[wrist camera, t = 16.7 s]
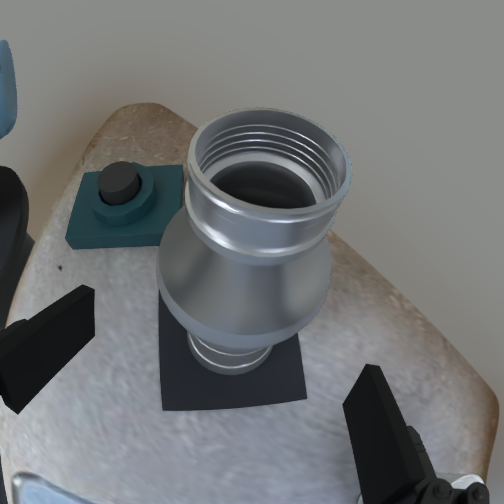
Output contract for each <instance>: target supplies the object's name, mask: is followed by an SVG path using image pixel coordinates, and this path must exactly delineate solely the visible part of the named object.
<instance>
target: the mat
mask: <svg viewBox="0 0 504 504" xmlns="http://www.w3.org/2000/svg"><path fill="white" fill-rule="evenodd" d="M159 357H160V379H161V395H162V408H163V411H189V410H215V409H231V408H242V407H252V406H261V405H270V404H277V403H284V402H290V401H297V400H303V399H307V395H306V388H305V381H304V373H303V367H302V360H301V353H300V346H299V340H298V333H296V334H294V335H293V336H292V337H290V338H288V339H286V340H284V341H282V342H280V343H277V344H275V345H273V347H272V350H271V352H270V354H269V355H268V357H267V358H266V359H265V360H264V361H263V362H262V363H261V364H260V365H259V366H258V367H256V368H255V369H253V370H251V371H249V372H246V373H243V374H238V375H224V374H219V373H216V372H213V371H211V370H209V369H207V368H206V367H204V366H203V365H201V364H200V363H199V362H198V361H197V360H196V358H195V357H194V355H193V354H192V352H191V350H190V347H189V345H188V339H187V330H186V329H185V328H184V327H183V326H182V325H181V324H180V323H179V322H178V320H177V319H176V318H175V317H174V316H173V315H172V313H171V312H170V310H169V309H168V307H167V305H166V304H165V302H164V300H163V299H162V296H161V293H160V290H159Z"/></svg>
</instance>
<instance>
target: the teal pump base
mask: <svg viewBox="0 0 504 504" xmlns="http://www.w3.org/2000/svg"><path fill="white" fill-rule="evenodd" d="M131 164H133V165H134V167H135V168H136V172H137V176H138V179H139V183H140V189H139V192H138V194H137V195H136V196H135V197H134V198H133V199H132V200H131V201H129V202H127V203H125V204H123V205H110V204H108V203H106V202H105V201H104V199H103V197H102V194H101V192H100V190H99V187H98V185H97V179H98V176H99V174H100V172H101V171H96V172H87V173H84V175H83V178H82V181H81V184H80V187H79V190H78V193H77V196H76V200H75V203H74V206H73V210H72V213H71V217H70V221H69V225H68V229H67V233H66V237H65V239H66V241H67V242H68V243H69V245H70V246H71V247H72V249H93V248H115V247H138V246H160V242H161V239H162V237H163V234H164V232H165V229H166V227H167V225H168V224H169V222H170V221H171V219H172V218H173V216H174V215H175V214H176V213H177V212H178V211H179V210H180V209H181V208H182V201H183V181H184V176H183V165H164V166H149V167H145V166H143V165H140V164H137V163H135V162H133V163H131Z"/></svg>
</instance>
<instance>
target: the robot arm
mask: <svg viewBox="0 0 504 504" xmlns="http://www.w3.org/2000/svg"><path fill="white" fill-rule="evenodd" d="M16 117H17V91H16V81H15V72H14V65H13V60H12V54H11V50H10V48H9V45H8V42H7V41H6V40H1V41H0V139H1V138H3V137H4V136H6V135H7V134H8V133H9V132H10V131H11V130H12V128H13V126H14V124H15V122H16ZM94 297H95V289H93V288H90V287H88V286H85V285H83V284H82V285H81V286H79V287H77V288H76V289H74V290H73V291H71V292H70V293H68V294H66V295H65V296H63V297H62V298H60V299H59V300H57V301H56V302H54V303H53V304H51V305H50V306H48V307H47V308H45V309H44V310H42V311H41V312H39V313H38V314H36V315H35V316H33V317H32V318H30V319H29V320H26V319H22V320H19V321H16V322H14V323H12V324H11V325H9V326H8V327H7V328H6V329H3V330H2V331H1V332H0V395H1V396H2V399H3V401H4V403H5V405H6V406H7V407H9V408H10V409H11V410H12V411H14V412H15V413H16V414H17V415H18V414H19V413H20V412H21V411H22V410H23V409H24V407H25V406H26V405H27V404H28V403H29V402H30V401H31V400H32V399H33V398H34V397H35V396H36V395H37V394H38V393H39V391H40V390H41V389H42V388H43V387H44V386H45V385H46V384H47V383H48V382H49V381H50V380H51V379H52V378H53V377H54V376H55V375H56V374H57V373H58V372H59V371H60V370H61V369H62V368H63V367H64V366H65V365H66V364H67V363H68V362H69V361H70V360H71V359H72V358H73V357H74V356H75V355H76V354H77V353H78V352H79V351H80V350H81V349H82V348H83V347H84V346H85V345H86V344H87V343H88V342H89V341H90V340H91V339H92V338H93V337H94V336H95V318H94ZM342 405H343V410H344V414H345V418H346V422H347V427H348V431H349V436H350V440H351V445H352V449H353V454H354V459H355V464H356V469H357V474H358V479H359V484H360V489H361V495H362V500H363V504H489V491H488V489H487V487H486V486H485V485H484V484H483V483H481V482H474V483H472V484H470V485H469V486H468V487H467V488H466V489H457V488H453V487H452V486H451V484H450V483H449V482H448V481H446V480H445V479H441V478H437V476H436V474H435V471H434V469H433V466H432V464H431V461H430V459H429V456H428V454H427V452H425V451H426V449H425V447H424V445H422V444H423V442H422V440H421V438H420V435H419V434H418V432H417V431H416V430H415V429H414V428H413V427H412V426H406V423H405V421H404V419H403V416H402V414H401V412H400V410H399V407H398V405H397V403H396V401H395V398H394V396H393V394H392V392H391V390H390V387H389V385H388V383H387V381H386V379H385V377H384V375H383V372H382V370H381V368H380V366H377V365H370V364H366V365H365V367H364V368H363V370H362V372H361V374H360V376H359V377H358V379H357V381H356V383H355V384H354V386H353V388H352V389H351V391H350V393H349V394H348V396H347V398H346V399H345V401H344V403H343V404H342ZM0 504H8V501H7V497H6V492H5V486H4V480H3V473H2V466H1V456H0Z"/></svg>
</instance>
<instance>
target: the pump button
mask: <svg viewBox="0 0 504 504" xmlns="http://www.w3.org/2000/svg"><path fill="white" fill-rule="evenodd" d="M97 185H98V187H99V190H100V192H101V194H102V197H103V199H104V201H105V202H106V203H108V204H110V205H123V204H125V203H127V202H129V201H131V200H132V199H133V198H134V197H135V196H136V195H137V194H138V192H139V189H140V183H139V179H138V176H137V172H136V168H135V167H134V165H133V164H131V163H129V162H124V161H121V162H115V163H112V164H110V165H108V166H107V167H105V168H104V169H103V170H102V171H101V172H100V174H99V176H98V179H97Z"/></svg>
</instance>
